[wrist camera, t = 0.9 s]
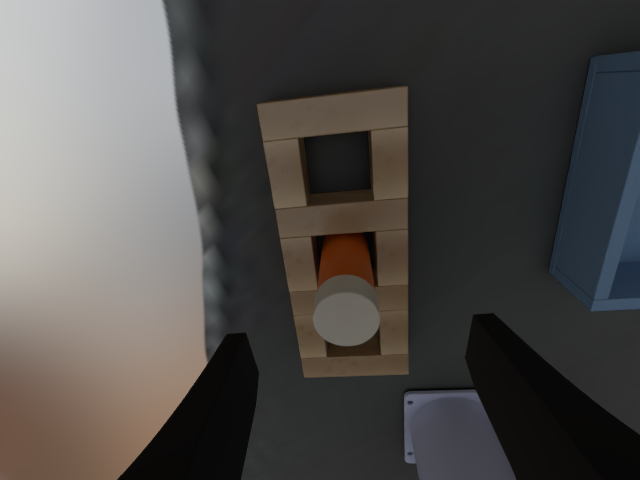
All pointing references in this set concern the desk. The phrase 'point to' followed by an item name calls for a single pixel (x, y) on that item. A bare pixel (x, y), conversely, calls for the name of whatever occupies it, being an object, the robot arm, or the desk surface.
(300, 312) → the pen rack
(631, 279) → the bin
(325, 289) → the pill bottle
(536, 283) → the desk surface
